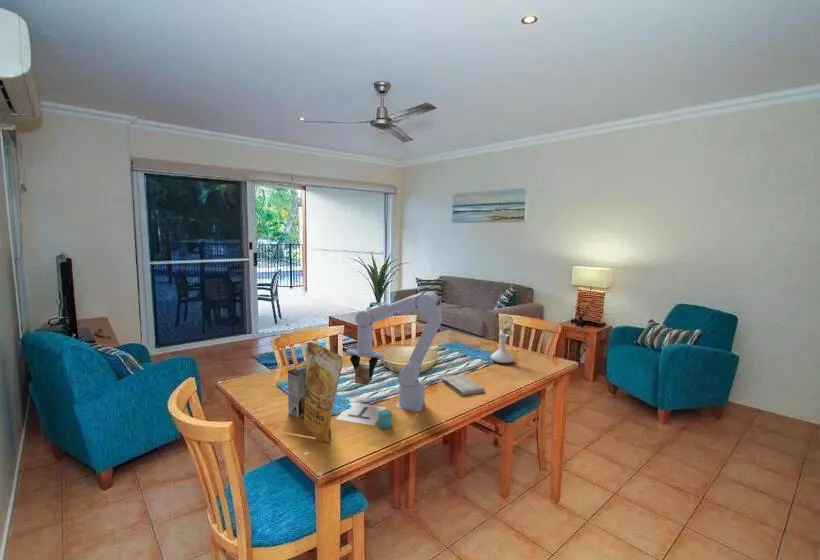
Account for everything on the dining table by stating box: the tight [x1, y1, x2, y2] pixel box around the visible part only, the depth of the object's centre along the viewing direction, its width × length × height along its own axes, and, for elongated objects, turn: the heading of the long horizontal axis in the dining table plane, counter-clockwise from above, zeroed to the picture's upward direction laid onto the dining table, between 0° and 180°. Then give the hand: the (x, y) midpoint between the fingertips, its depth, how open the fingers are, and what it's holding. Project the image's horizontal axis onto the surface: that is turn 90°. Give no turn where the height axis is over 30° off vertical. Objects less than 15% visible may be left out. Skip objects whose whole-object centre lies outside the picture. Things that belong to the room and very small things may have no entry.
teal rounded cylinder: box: [377, 409, 393, 430], centre depth 137 cm, size 4×4×5 cm
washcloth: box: [440, 373, 485, 397], centre depth 174 cm, size 12×18×3 cm, turn 27°
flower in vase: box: [490, 314, 514, 364], centre depth 205 cm, size 13×11×25 cm
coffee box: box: [287, 364, 306, 419], centre depth 144 cm, size 9×6×16 cm
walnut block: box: [354, 363, 373, 386], centre depth 156 cm, size 5×5×6 cm
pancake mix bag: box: [303, 341, 344, 443], centre depth 131 cm, size 7×19×28 cm, turn 40°
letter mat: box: [335, 401, 387, 426], centre depth 145 cm, size 14×14×1 cm
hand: (364, 375), depth 157 cm, fingers closed on walnut block, 5 cm apart
